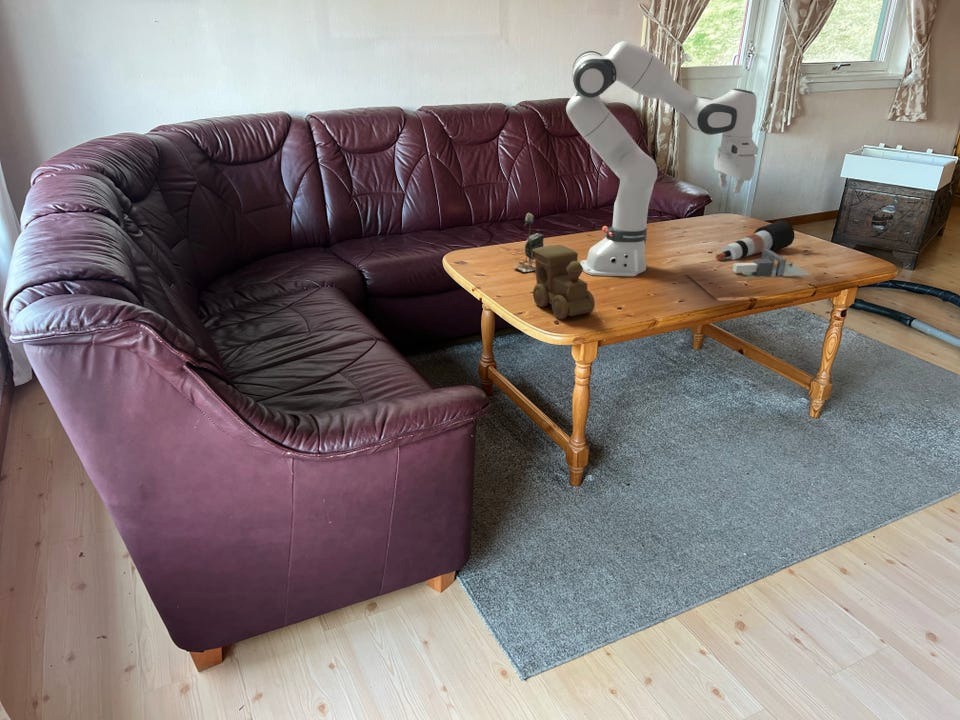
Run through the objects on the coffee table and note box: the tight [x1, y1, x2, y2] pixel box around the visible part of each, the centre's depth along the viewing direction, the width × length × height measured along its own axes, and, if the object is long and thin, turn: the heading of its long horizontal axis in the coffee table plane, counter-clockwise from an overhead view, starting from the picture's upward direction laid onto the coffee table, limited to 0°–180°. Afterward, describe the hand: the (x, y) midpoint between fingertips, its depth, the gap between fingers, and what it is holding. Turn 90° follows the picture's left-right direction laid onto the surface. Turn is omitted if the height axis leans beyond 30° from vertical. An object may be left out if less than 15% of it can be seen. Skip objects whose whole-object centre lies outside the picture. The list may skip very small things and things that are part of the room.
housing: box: [732, 249, 812, 279], centre depth 225 cm, size 22×12×7 cm, turn 96°
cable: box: [715, 220, 795, 261], centre depth 242 cm, size 10×34×10 cm, turn 120°
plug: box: [732, 258, 775, 275], centre depth 223 cm, size 12×4×4 cm, turn 96°
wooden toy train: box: [532, 244, 596, 320], centre depth 194 cm, size 20×11×17 cm, turn 27°
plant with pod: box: [513, 212, 545, 273], centre depth 227 cm, size 8×11×20 cm
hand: (729, 189), depth 215 cm, fingers open, 8 cm apart
